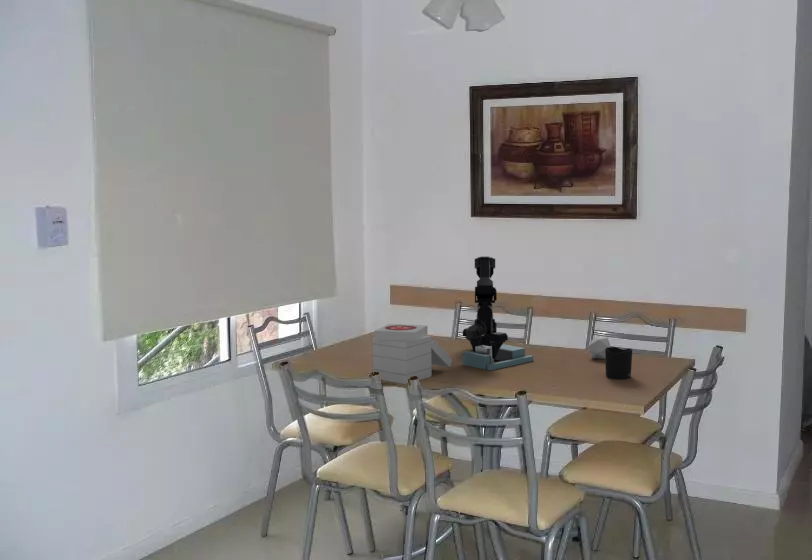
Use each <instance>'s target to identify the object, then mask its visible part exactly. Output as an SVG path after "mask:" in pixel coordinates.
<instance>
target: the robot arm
mask: <svg viewBox="0 0 812 560" xmlns="http://www.w3.org/2000/svg"><path fill="white" fill-rule="evenodd" d="M474 269H476V275H477V277H478V280H477V281H476V286H474V303H475V304H477V308H476V309H477V311H476V319H474V324H471V325H470V326H468V327H467V328H464V329H463V330H462V337H465V339H466V340H467V341H468V342H469V343H470V345H471V348H472V352H475V347H476V346H481V345H485V346H492V358H493V359H494V360H495V357H496V355H497V353H498V351H499V349H500V347H501V346H502V344H505V343H506V342H507V341H509V338H508V337H509V335H508V334H507V333H506V332H503V331H502V332H500V331H499V332H498V331H497V325H498V324H497V322H496V319H495V318H494V313H493V312H494V311H493V304H495V303H496V301H497V298H498V297H497V296H498V295H497V293H498V291H497V288H496V287H495V286H494V281H493V280H492V277H493V275H494V270H495V269H496V258H495V257H492V256H485V255H482V256H477V258H474Z"/></svg>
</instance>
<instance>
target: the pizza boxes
mask: <svg viewBox="0 0 812 560" xmlns="http://www.w3.org/2000/svg"><path fill="white" fill-rule="evenodd" d="M372 347H373V348H372V350H373V351H372V352H373V353H372V354H373V355H372V356H373V357H372V358H373V361H372V362H373V363H372V365H373V373H374V372H375V371H376V372H379V373H380V375H381V378H382V380H381V381H384V382H385V381H386V382H390V383H391V382H392V383H395V384H403V385H407V381H408V379H409V378H410V377H411V376H417V377H419V378H420V380H419V381H422V380H426V379H428V378H431V377H432V365H433V366H439V367H444V368H445V367H446V368H451V366H452V363H453V360H454V359H452V357H451V356H450V355H449V354H448V353H447V352H446V351H445V350H444V349H443V348H442V346H440V344H439V343H438V342H437V341H436V340H435V339H433V338H432V336H431V335H428V325H421V324H401V323H399V324H398V323H388V324H386V325H384V326H381V327H380V328H377V329H375V330H374V337H373V338H372Z"/></svg>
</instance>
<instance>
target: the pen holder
mask: <svg viewBox="0 0 812 560" xmlns="http://www.w3.org/2000/svg"><path fill="white" fill-rule="evenodd" d="M604 360H605V376H606V377H607V378H609V379H613V380H627V379H630V378H631V375H632V362H633V361H632V360H633V348H625V349H624V348H623V349H622V348H619V347H616V346H611V347H608V348H606V349H605V359H604Z"/></svg>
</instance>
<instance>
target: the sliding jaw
mask: <svg viewBox="0 0 812 560" xmlns="http://www.w3.org/2000/svg"><path fill="white" fill-rule="evenodd" d="M490 347H492V346H490ZM525 356H526V347H521V346H515V345H508V344H505V343H503V344H502V346H501V347H500V349H499V351H498V353H497V355H496V357H495V359H494V361H495V360H496V361H499V362H502V361H506V360H511V359H515V358H520V357H525Z"/></svg>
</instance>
